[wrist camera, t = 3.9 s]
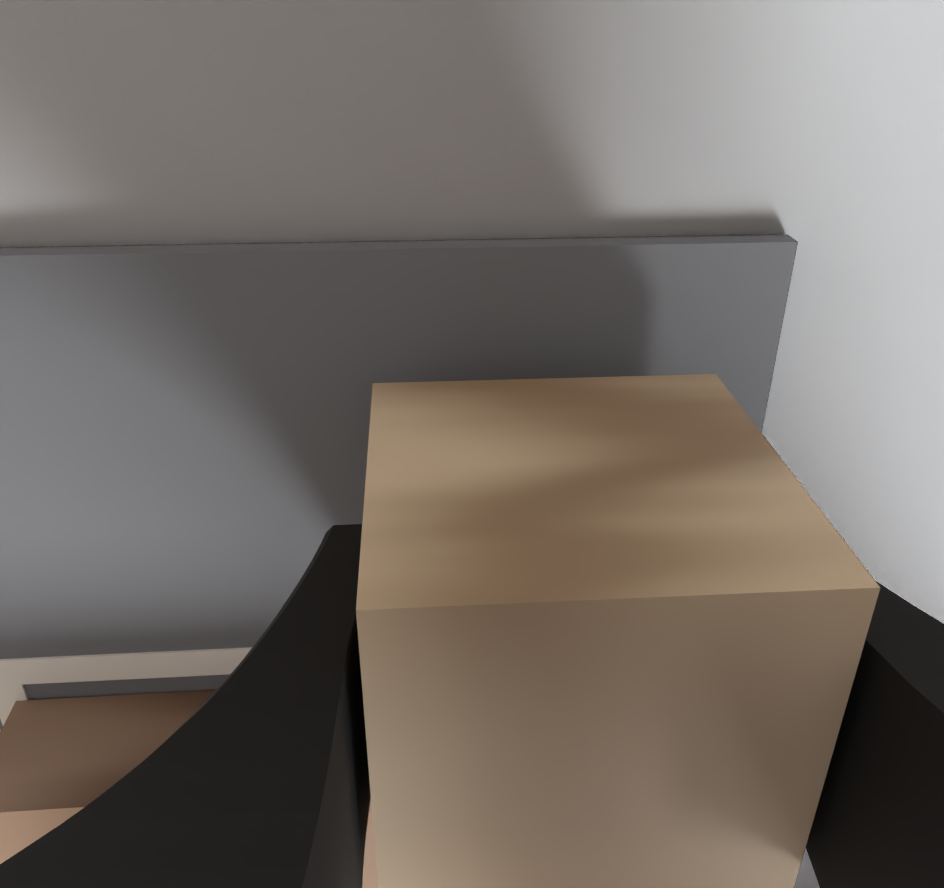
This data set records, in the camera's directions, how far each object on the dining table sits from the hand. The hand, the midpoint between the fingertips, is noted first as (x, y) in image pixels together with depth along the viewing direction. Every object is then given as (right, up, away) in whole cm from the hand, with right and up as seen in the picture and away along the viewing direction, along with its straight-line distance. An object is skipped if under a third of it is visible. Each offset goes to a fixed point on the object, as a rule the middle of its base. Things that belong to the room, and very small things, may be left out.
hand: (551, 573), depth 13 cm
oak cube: (0, +1, +1) cm, 1 cm away
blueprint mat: (-3, -3, +5) cm, 6 cm away
